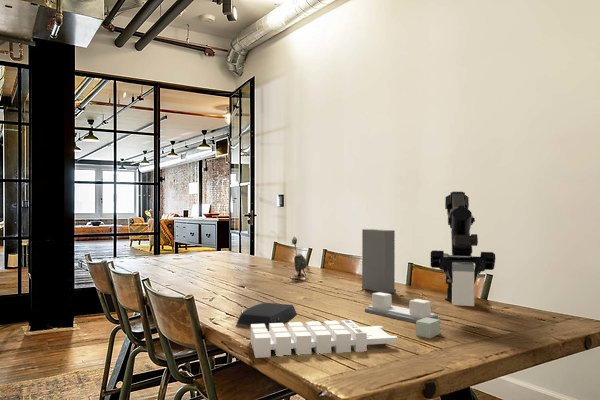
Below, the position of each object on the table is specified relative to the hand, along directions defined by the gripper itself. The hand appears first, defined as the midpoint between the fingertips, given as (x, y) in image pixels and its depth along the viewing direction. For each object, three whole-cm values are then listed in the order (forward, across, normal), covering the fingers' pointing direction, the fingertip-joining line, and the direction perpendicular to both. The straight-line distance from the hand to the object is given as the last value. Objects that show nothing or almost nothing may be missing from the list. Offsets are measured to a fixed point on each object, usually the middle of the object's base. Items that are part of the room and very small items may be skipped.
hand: (463, 282), depth 140 cm
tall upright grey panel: (-25, -30, +43) cm, 58 cm away
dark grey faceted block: (+17, -57, +1) cm, 60 cm away
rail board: (+4, -19, +13) cm, 23 cm away
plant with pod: (-39, -69, +58) cm, 98 cm away
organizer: (+32, -35, -14) cm, 49 cm away
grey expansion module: (+4, 0, +6) cm, 7 cm away
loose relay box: (+19, -10, -2) cm, 22 cm away
